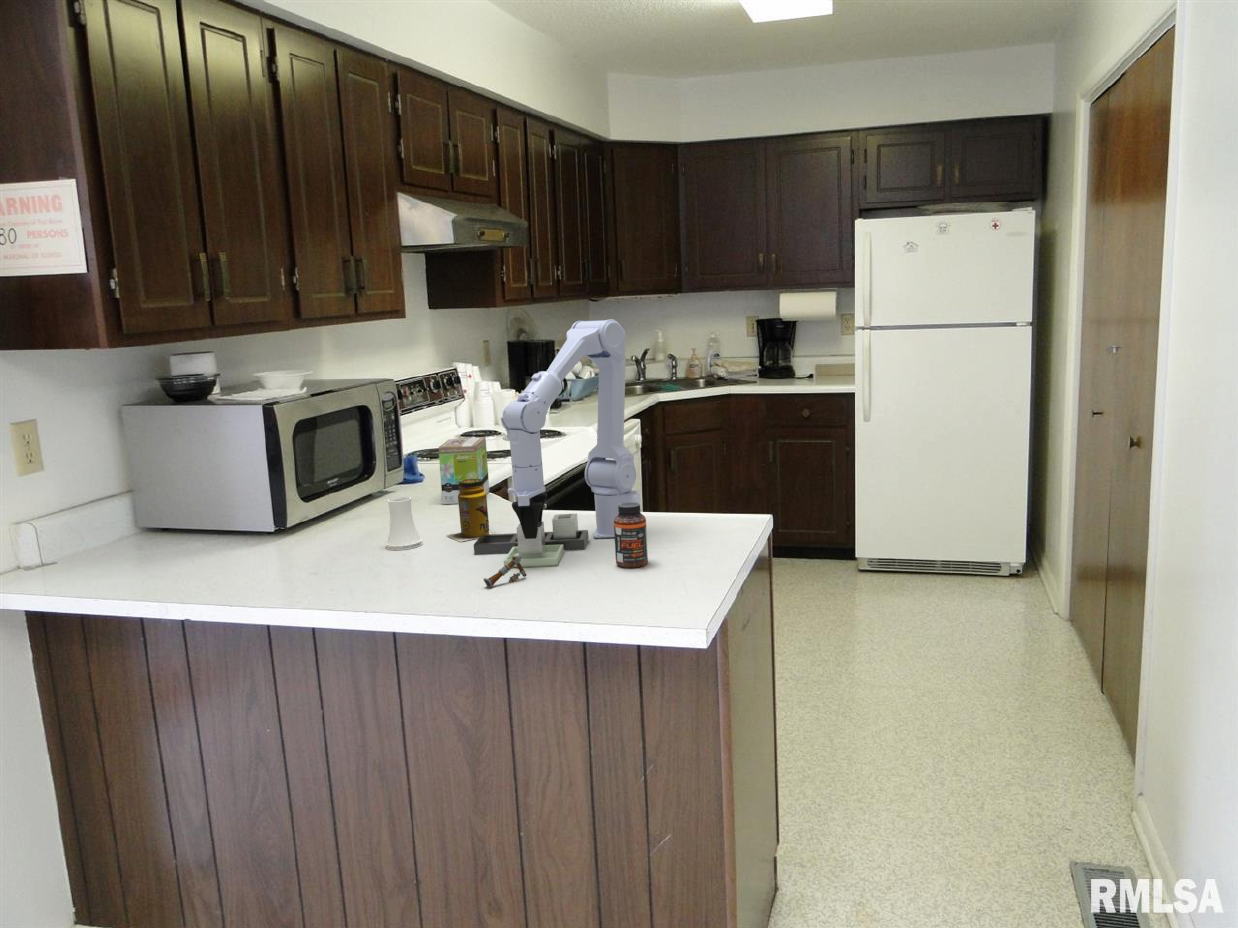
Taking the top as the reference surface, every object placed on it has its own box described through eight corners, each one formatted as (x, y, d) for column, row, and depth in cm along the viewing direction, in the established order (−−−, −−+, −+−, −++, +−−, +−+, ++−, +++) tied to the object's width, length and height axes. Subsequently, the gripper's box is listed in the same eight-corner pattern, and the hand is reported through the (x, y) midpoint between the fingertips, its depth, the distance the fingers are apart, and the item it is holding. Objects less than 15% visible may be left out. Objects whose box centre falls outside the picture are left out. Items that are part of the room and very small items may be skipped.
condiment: (497, 535, 211) (492, 480, 209) (460, 542, 207) (455, 486, 205) (482, 529, 217) (477, 475, 215) (446, 536, 213) (441, 482, 211)
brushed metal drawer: (579, 542, 201) (577, 512, 200) (576, 548, 196) (574, 517, 195) (557, 543, 201) (554, 513, 200) (554, 549, 197) (552, 519, 195)
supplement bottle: (621, 570, 178) (616, 509, 176) (612, 562, 184) (608, 503, 182) (652, 566, 180) (649, 505, 178) (643, 558, 185) (639, 499, 183)
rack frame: (588, 539, 202) (588, 529, 202) (584, 549, 194) (584, 539, 194) (482, 544, 204) (481, 534, 203) (474, 554, 196) (473, 544, 196)
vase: (430, 542, 208) (425, 496, 206) (404, 551, 202) (399, 504, 200) (404, 539, 212) (399, 494, 211) (378, 548, 206) (373, 501, 204)
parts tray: (563, 551, 194) (563, 544, 193) (557, 566, 184) (556, 558, 184) (513, 554, 194) (512, 546, 194) (504, 568, 185) (503, 560, 184)
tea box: (482, 503, 245) (476, 444, 243) (441, 505, 246) (436, 446, 243) (490, 491, 260) (485, 435, 258) (452, 493, 261) (447, 437, 258)
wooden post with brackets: (532, 573, 177) (522, 553, 175) (498, 600, 174) (487, 580, 172) (526, 571, 179) (516, 551, 177) (493, 598, 175) (482, 577, 173)
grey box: (546, 551, 191) (543, 520, 190) (542, 558, 187) (540, 526, 185) (522, 552, 191) (520, 521, 190) (519, 559, 187) (516, 527, 186)
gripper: (512, 459, 193) (518, 526, 196) (498, 473, 179) (505, 545, 181) (548, 457, 193) (553, 525, 195) (537, 471, 179) (543, 543, 181)
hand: (532, 535), depth 188 cm, fingers closed on grey box, 4 cm apart
